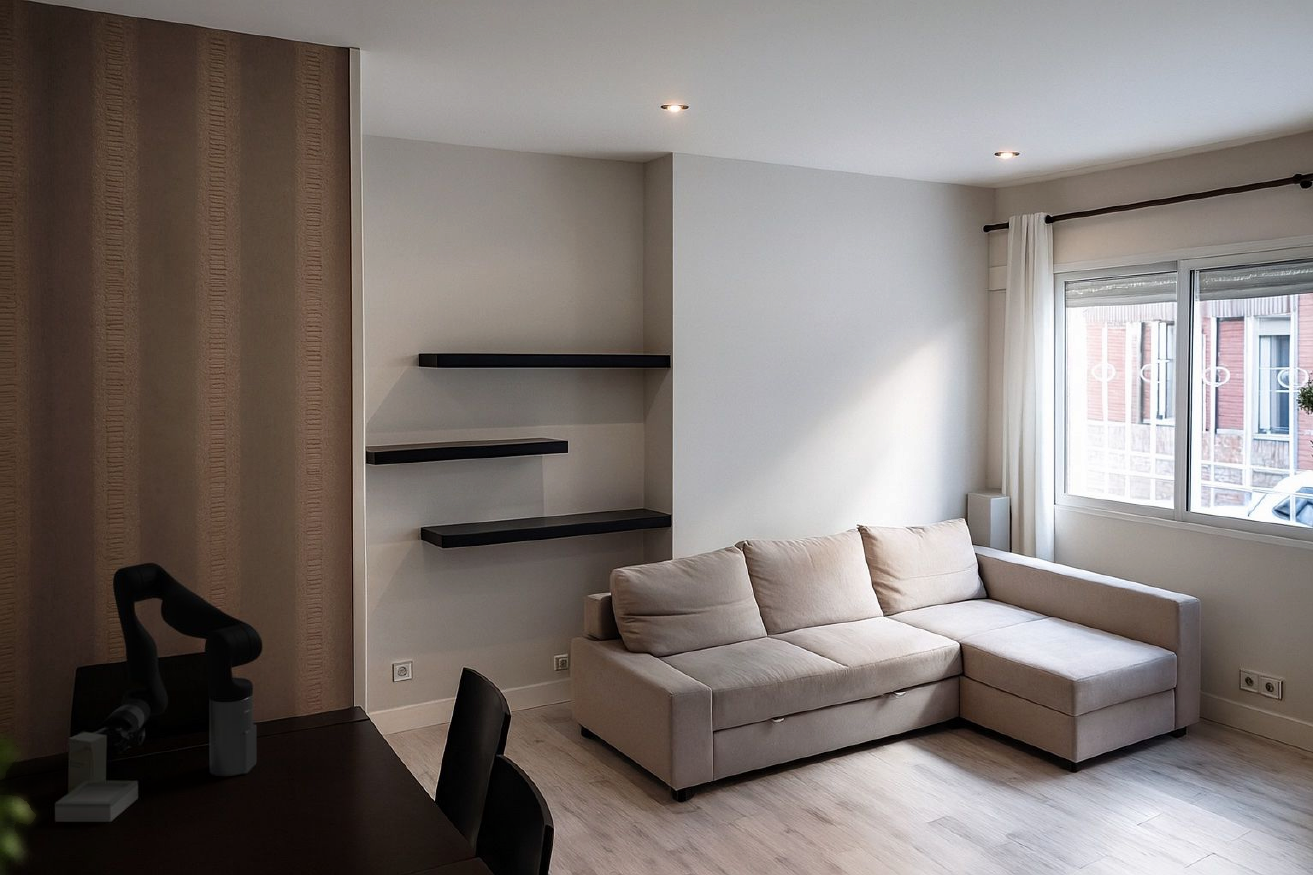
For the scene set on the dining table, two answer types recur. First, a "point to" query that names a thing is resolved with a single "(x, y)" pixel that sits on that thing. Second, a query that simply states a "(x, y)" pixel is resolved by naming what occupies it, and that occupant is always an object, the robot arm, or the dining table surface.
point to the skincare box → (86, 759)
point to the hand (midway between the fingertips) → (97, 750)
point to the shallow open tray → (96, 801)
